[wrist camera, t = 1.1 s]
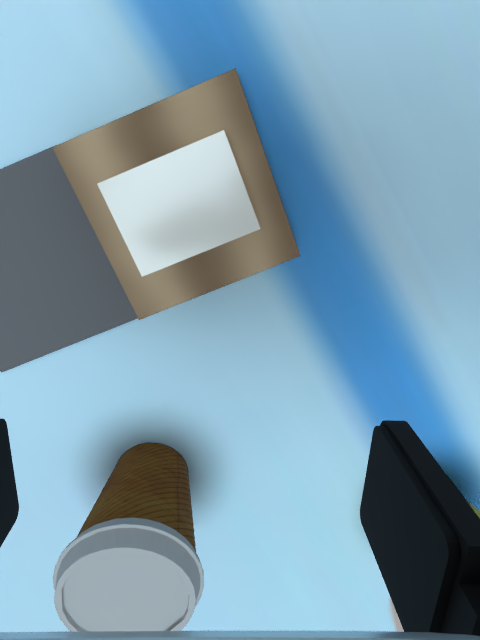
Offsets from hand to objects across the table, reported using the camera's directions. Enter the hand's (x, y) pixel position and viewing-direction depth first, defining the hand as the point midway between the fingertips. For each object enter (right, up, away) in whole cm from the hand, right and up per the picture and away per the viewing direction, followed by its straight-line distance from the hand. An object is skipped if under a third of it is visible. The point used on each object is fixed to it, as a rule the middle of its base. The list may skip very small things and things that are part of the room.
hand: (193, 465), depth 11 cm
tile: (-2, +11, +17) cm, 20 cm away
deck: (-3, +12, +19) cm, 23 cm away
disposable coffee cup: (-7, -10, +27) cm, 29 cm away
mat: (-14, +8, +20) cm, 26 cm away
